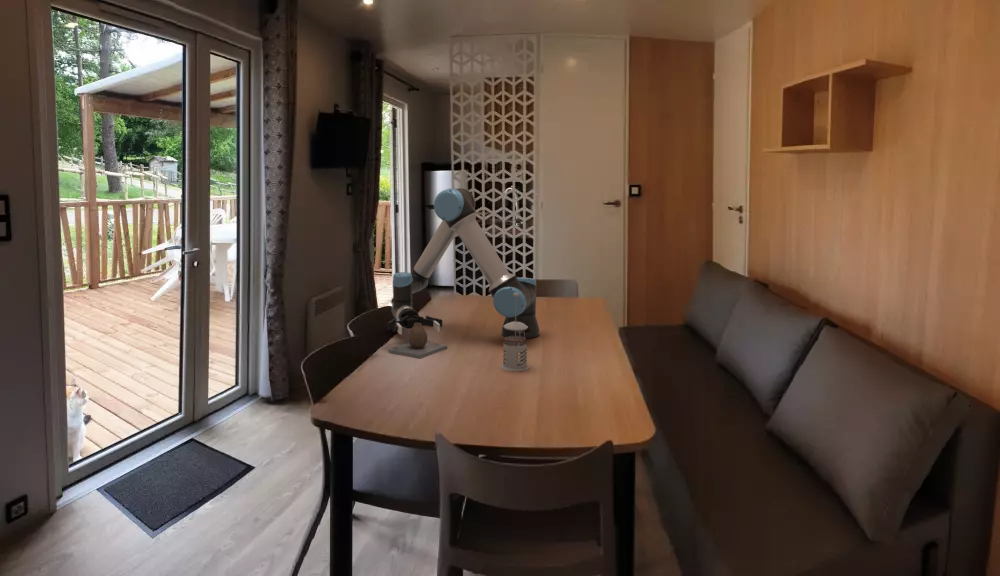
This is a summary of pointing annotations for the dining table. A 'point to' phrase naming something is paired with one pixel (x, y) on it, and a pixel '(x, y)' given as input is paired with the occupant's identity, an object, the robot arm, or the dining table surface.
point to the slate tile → (417, 350)
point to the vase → (417, 336)
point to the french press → (515, 347)
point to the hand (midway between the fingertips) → (420, 329)
